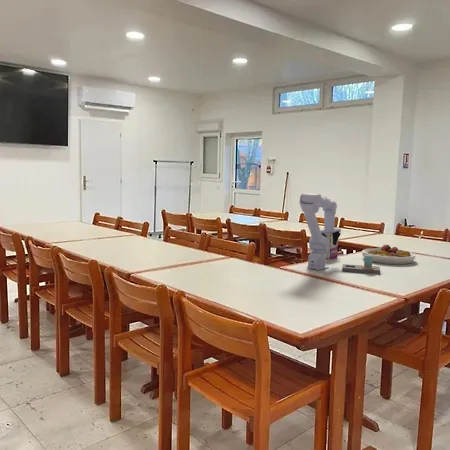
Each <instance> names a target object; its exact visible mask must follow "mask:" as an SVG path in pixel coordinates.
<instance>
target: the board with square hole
mask: <svg viewBox="0 0 450 450" xmlns="http://www.w3.org/2000/svg"><path fill="white" fill-rule="evenodd" d="M361 266H364V264H362V265H361V264H349V263H348V264H346V263H343V264H342V268H341V272H345V273H346V272H347V273H355V274H356V273H358V274H371V275H372V274H373V275H381V267H380V266H373V265H372V267H375V269H364V268H361Z"/></svg>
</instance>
